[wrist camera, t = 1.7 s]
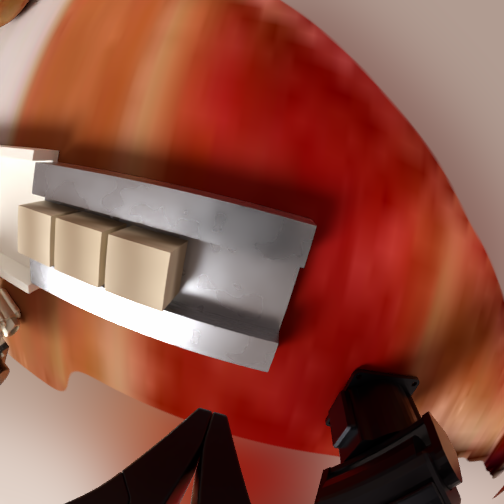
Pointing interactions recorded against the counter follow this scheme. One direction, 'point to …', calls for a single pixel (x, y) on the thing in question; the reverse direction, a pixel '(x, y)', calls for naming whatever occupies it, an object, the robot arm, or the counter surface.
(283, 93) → the counter surface
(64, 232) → the block
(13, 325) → the pneumatic valve
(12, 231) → the tray
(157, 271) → the block
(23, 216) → the block
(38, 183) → the slot rail
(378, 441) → the robot arm
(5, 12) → the onion
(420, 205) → the counter surface
